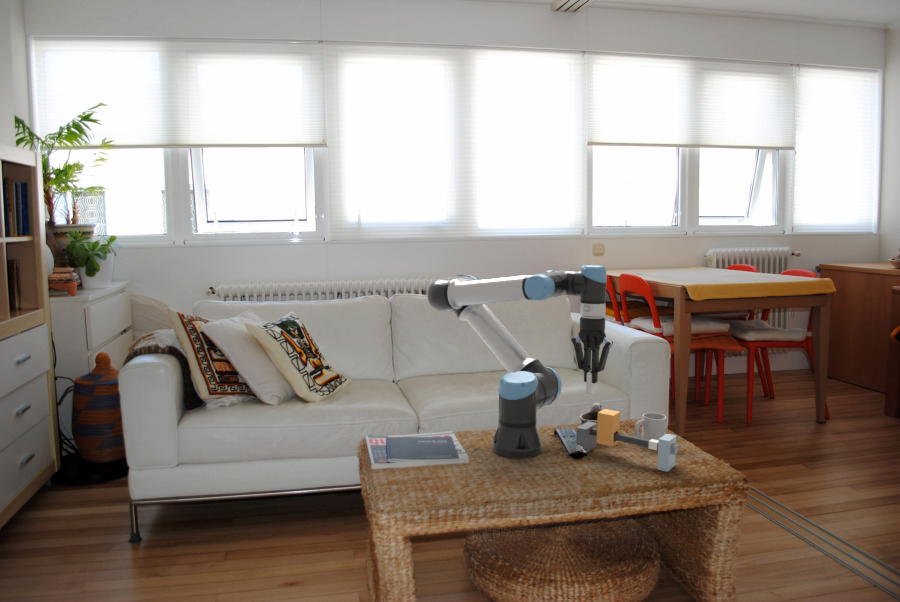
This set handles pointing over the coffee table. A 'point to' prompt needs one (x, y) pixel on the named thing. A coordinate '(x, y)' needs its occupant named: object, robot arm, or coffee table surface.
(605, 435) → the orange sliding sleeve
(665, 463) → the rail rig
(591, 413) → the mug
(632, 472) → the coffee table surface
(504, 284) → the robot arm
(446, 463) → the coffee table surface
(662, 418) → the cup
